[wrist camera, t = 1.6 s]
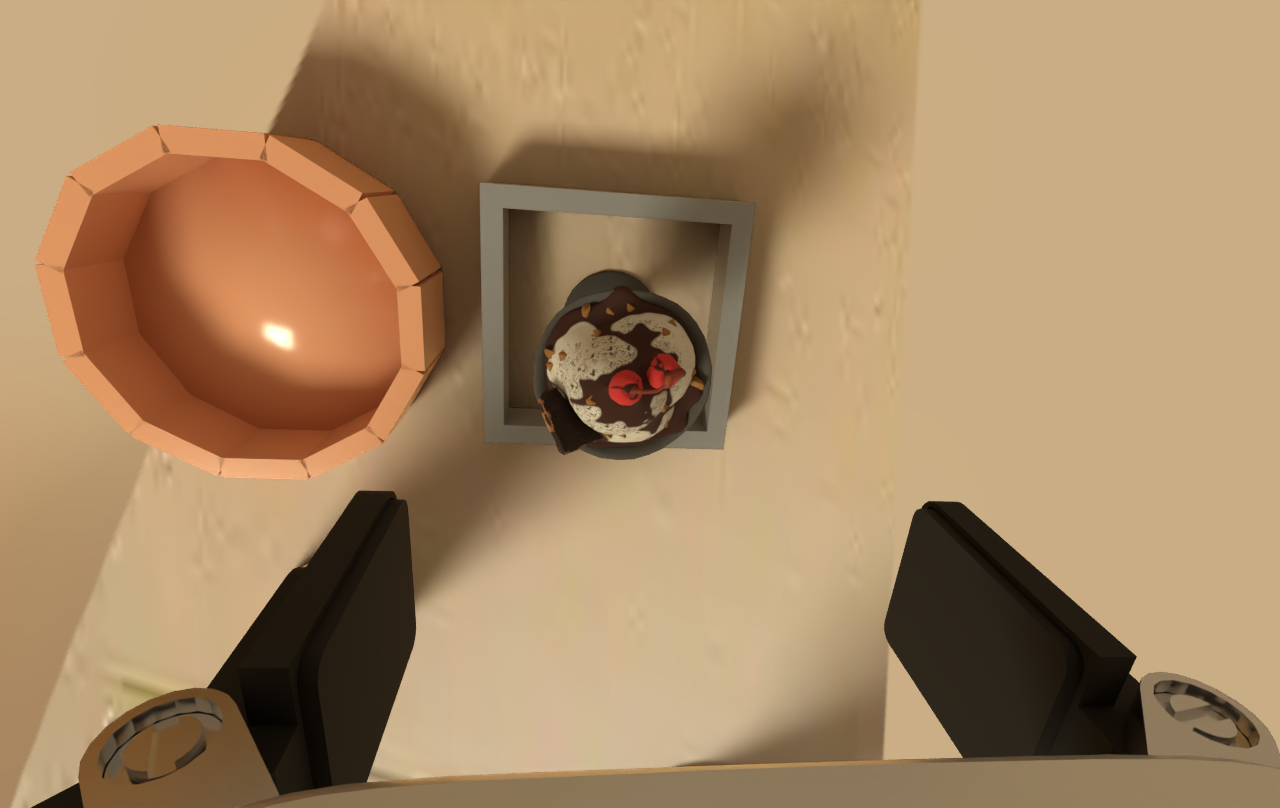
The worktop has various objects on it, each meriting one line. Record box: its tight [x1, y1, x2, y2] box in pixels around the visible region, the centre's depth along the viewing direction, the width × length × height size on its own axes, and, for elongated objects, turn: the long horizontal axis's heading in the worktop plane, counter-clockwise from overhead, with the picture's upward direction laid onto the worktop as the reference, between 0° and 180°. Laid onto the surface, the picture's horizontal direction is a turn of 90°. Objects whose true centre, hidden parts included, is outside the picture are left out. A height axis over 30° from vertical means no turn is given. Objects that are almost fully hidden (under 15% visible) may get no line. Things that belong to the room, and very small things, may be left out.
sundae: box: [533, 272, 712, 460], centre depth 25 cm, size 7×7×15 cm
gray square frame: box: [480, 182, 756, 450], centre depth 31 cm, size 12×12×2 cm
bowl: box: [35, 125, 445, 479], centre depth 28 cm, size 15×15×4 cm
